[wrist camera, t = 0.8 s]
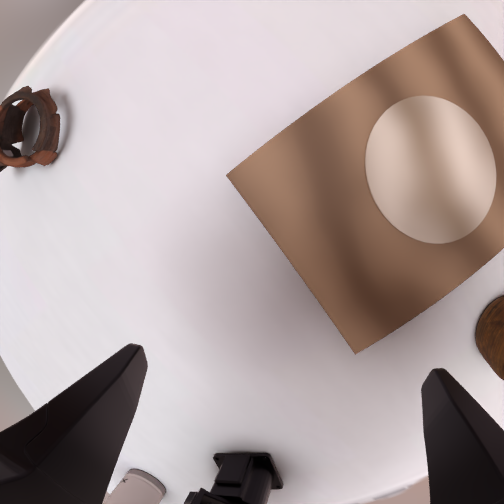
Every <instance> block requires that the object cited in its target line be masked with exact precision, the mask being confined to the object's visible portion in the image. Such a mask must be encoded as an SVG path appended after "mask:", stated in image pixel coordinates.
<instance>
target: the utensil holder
mask: <svg viewBox="0 0 504 504" xmlns="http://www.w3.org/2000/svg"><path fill="white" fill-rule="evenodd" d="M476 343H477V347H478V349H479V351H480V353H481V354H482V356H483V357H484V359H485V360H486V361H487V363H488V364H489V365H490V367H491V368H492V369H493V371H494V372H495V373H496V374H497V375H498V376H499V377H500V378H501V379H502V380H504V296H502V297H500V298H498V299H496V300H495V301H493V302H492V303H491V304H490V305H489V306H488V307H487V308H486V310H485V311H484V313H483V314H482V316H481V318H480V320H479V323H478V326H477V330H476Z"/></svg>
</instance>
